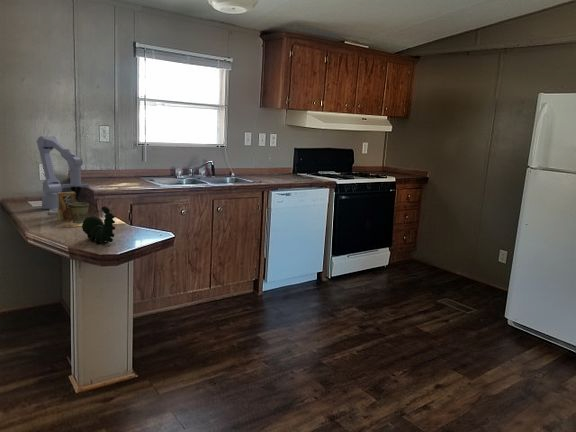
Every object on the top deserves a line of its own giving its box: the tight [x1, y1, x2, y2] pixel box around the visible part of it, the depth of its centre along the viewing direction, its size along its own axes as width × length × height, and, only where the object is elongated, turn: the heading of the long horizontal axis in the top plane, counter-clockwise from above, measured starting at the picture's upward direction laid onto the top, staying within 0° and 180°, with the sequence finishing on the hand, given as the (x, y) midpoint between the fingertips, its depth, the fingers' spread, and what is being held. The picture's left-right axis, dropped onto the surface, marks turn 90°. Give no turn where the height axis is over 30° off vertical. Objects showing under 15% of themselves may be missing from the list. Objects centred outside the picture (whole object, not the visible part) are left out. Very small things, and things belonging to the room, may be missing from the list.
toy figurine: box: [81, 206, 116, 244], centre depth 217 cm, size 9×19×25 cm
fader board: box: [49, 209, 58, 216], centre depth 278 cm, size 20×8×2 cm, turn 117°
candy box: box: [57, 191, 77, 222], centre depth 258 cm, size 9×4×15 cm, turn 129°
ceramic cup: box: [69, 201, 90, 224], centre depth 256 cm, size 13×10×10 cm
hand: (76, 199), depth 278 cm, fingers closed
